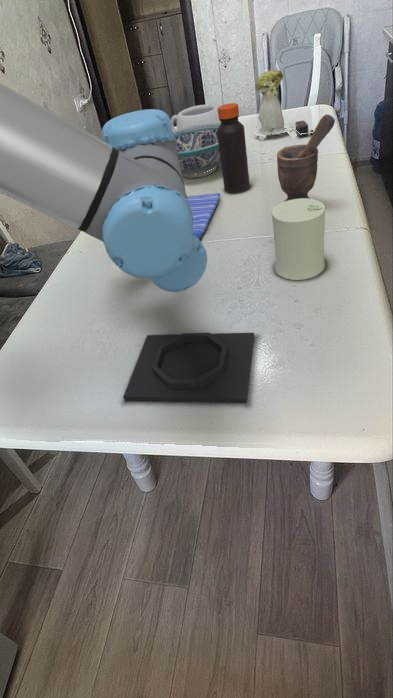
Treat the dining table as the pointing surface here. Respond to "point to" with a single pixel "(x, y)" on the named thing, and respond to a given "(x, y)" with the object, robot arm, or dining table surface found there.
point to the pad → (193, 368)
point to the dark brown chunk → (302, 128)
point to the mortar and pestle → (302, 162)
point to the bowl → (198, 149)
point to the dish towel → (202, 211)
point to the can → (299, 238)
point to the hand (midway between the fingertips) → (107, 180)
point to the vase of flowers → (270, 104)
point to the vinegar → (232, 149)
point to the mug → (196, 116)
